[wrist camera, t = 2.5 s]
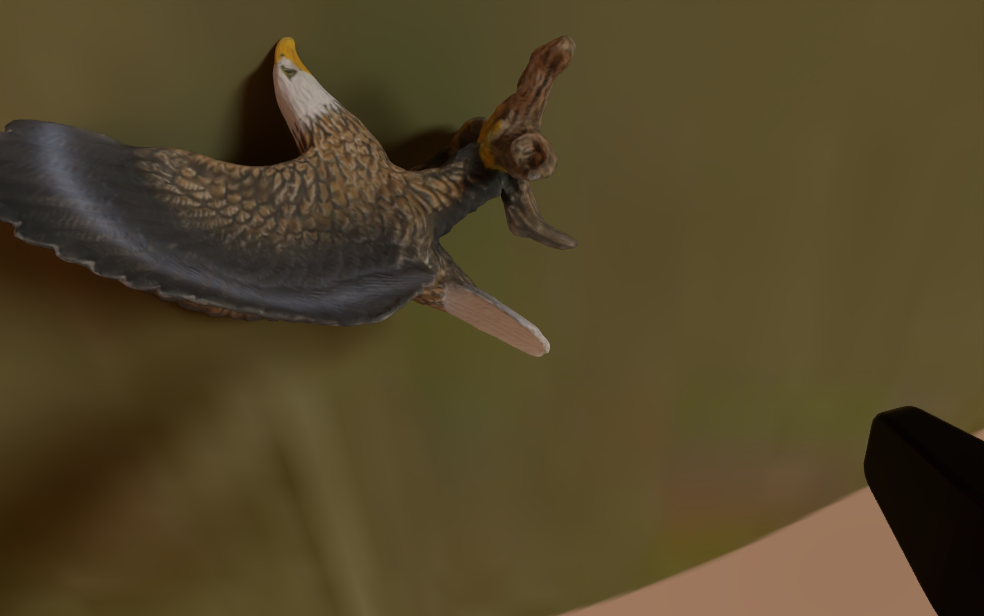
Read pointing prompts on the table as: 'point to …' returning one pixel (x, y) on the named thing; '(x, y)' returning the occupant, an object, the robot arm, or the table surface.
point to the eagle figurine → (291, 210)
